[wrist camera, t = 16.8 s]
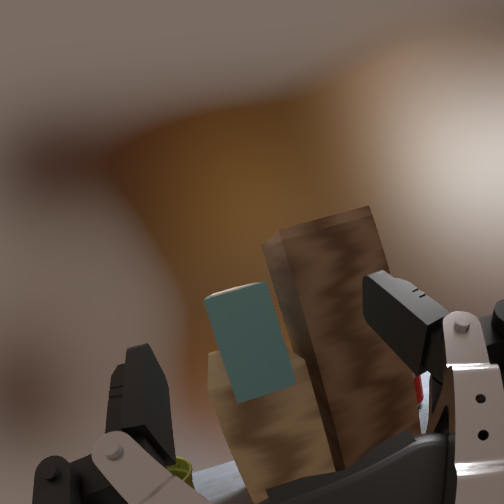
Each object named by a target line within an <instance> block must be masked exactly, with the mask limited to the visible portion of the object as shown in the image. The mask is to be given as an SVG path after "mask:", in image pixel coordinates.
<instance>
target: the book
mask: <svg viewBox="0 0 504 504" xmlns="http://www.w3.org/2000/svg"><path fill="white" fill-rule="evenodd" d="M204 303H205V305H206V309H207V312H208V316H209V319H210V322H211V325H212V329H213V332H214V335H215V338H216V341H217V344H218V347H219V351H220V354H221V357H222V360H223V363H224V366H225V369H226V372H227V375H228V378H229V381H230V384H231V386H232V389H233V392H234V395H235V398H236V401H237V404H238V403H241V402H245V401H248V400H251V399H254V398H258V397H261V396H264V395H267V394H270V393H273V392H276V391H279V390H282V389H285V388H287V387H290V386H293V385H296V384H297V383H296V379H295V376H294V373H293V369H292V366H291V362H290V359H289V356H288V352H287V349H286V346H285V342H284V339H283V336H282V332H281V329H280V326H279V322H278V319H277V316H276V312H275V309H274V306H273V302H272V299H271V296H270V292H269V289H268V286H267V282H266V281H265V282H261V283H257V282H256V283H252V284H247V285H243V286H239V287H234V288H231V289H227V290H224V291H221V292H217V293H214V294H212V295H210V296H208V297H206V298H205V299H204Z"/></svg>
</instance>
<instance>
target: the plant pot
mask: <svg viewBox="0 0 504 504" xmlns="http://www.w3.org/2000/svg"><path fill="white" fill-rule="evenodd" d="M166 467H167V470H168V471H169V472H170V473H171V474H173V475H176V476H177V477H179V478H180V479H181V480H183V481H184V482H185V483H186V484H188V485H189V486H190V487H191V488H193V489H194V490H195V488H194V485H193V482H192V474H191V473H192V465H191V463H190V462H189V461H188V460H187V459H185V458H181V457H176V464H175V465H170V466H166Z"/></svg>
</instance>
